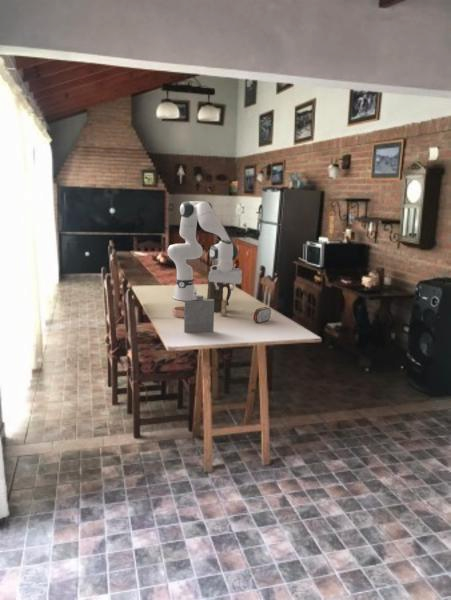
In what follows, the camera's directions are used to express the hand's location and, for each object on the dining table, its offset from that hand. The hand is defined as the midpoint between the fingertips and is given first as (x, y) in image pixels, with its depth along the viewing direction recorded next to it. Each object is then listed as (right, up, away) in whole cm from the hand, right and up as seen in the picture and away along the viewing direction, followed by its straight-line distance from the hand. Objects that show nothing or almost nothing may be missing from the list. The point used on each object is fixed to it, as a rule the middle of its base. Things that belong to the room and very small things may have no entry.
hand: (224, 290), depth 302 cm
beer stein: (-4, -13, +19) cm, 23 cm away
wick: (-1, -16, +4) cm, 16 cm away
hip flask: (-14, -23, -33) cm, 43 cm away
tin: (+22, -19, -7) cm, 30 cm away
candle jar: (-25, -15, +2) cm, 29 cm away
